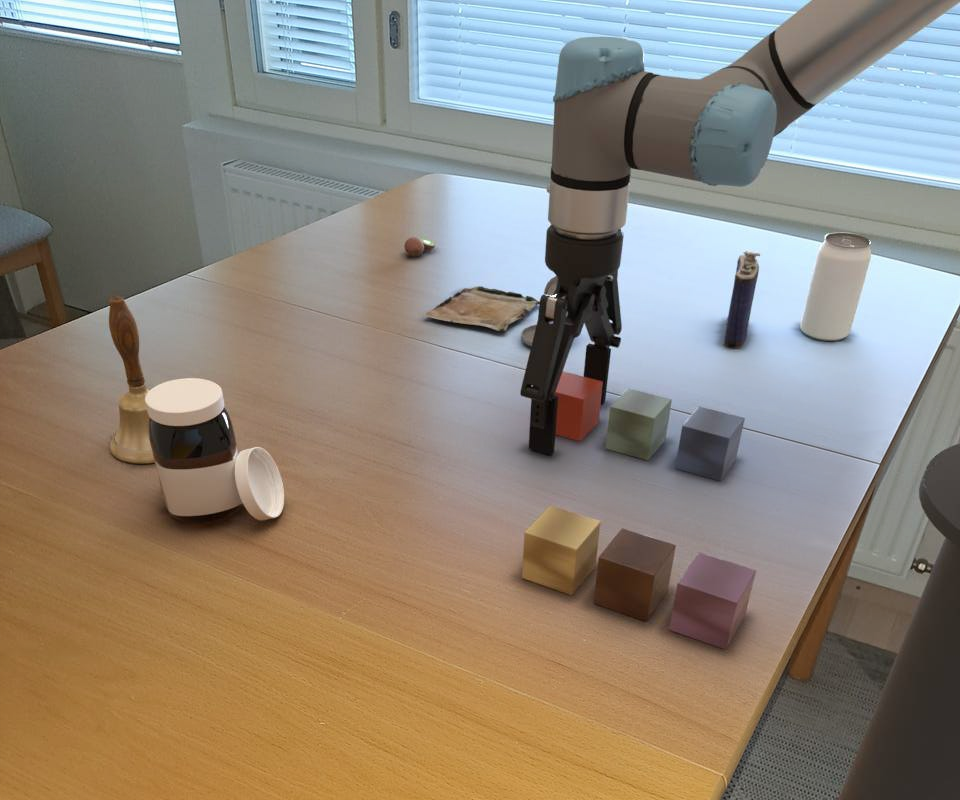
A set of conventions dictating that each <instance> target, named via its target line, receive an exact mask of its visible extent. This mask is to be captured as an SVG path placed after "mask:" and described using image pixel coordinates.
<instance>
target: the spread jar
mask: <svg viewBox="0 0 960 800" xmlns="http://www.w3.org/2000/svg"><path fill="white" fill-rule="evenodd" d="M149 390H150V391H149V392H148V393H147V394H146V396H145V403H146V407H147V411H148V414H149V417H150V418H149V424H148V430H149V438H150V444H151V448H152V453H153V457H154V461H155V463H154V465H155V468H156V472H157V476H158V481H159V484H160V490H161V493H162V497H163V500H164V504H165V506H166V509H167V511H168V513H169V515H171V517H172V518H174V519H176V520H178V521H180V522H186V523H191V524H193V523H194V524H205V523H206V524H207V523H213V522H218V521H220V520H224V519H226V518H229V517H230V516H231V515H233V514H235V513H236V512H238V511H239V510H241V509H242V507H244V508H245V509H246V511H247V512H248V513H249V514H250V515H251V516H252V517H253V518H254V519H255V520H257V521H267V520H271V519H272V520H273V519H276V518H277V517H279V516H280V515H281V514H282V512H283V510H284V506H285V491H284V490H285V489H284V484H283V479H282V476H281V472H280V470H279V468H278V466H277V464H276V462H275V460H274V458H273V457H272V456H271V454H270V453H269V452H268V451H267V450H266V449H265V448H263V447H260V446H255V447H254V446H253V447H251V448H246V449H243V450H241V451H240V452H239V451H238V446H237V439H236V434H235V430H234V426H233V422H232V419H231V416H230V414H229V412H228V411H227V409H226V407H225V399H224V395H223V389H222V388H221V386H220V385H218V383H215V382H214V381H212V380H208V379H204V378H195V377H194V378H193V377H187V378H177V379H172V380H167V381H164V382H162V383H159V384H157V385H155V386H153V387H152V388H151V389H149Z"/></svg>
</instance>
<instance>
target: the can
mask: <svg viewBox="0 0 960 800" xmlns="http://www.w3.org/2000/svg"><path fill="white" fill-rule="evenodd" d="M871 245H872V240H871V239H870V238H869V237H867V236H864V235H862V234H860V233H859V234H858V233H855V232H847V231H837V232H830V233H826V235H824V241H823V242H822V243H821V245H820V246H819V248H818V250H817V254H816V258H815V262H814V266H813V270H812V274H811V278H810V282H809V285H808V290H807V294H806V295H807V296H806V298H805V303H804V307H803V310H802V314H801V315H802V316H801V320H800V324H799V328H800V330H801V333H803V334H804V335H806V336H807V337H808V338H811V339H814V340H818V341H824V342H825V341H826V342H836V341H841V340H844V339H846V337H848V336H849V335H850V332H851V331H852V327H853V323H854V319H855V315H856V313H857V309H858V306H859V301H860V298H861V295H862V291H863V288H864V283H865V280H866V276H867V273H868V271H869V266H870V261H871V258H872V252H871Z"/></svg>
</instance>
